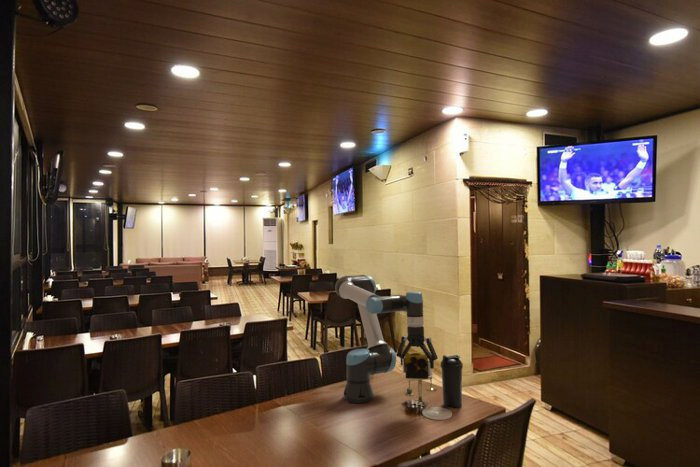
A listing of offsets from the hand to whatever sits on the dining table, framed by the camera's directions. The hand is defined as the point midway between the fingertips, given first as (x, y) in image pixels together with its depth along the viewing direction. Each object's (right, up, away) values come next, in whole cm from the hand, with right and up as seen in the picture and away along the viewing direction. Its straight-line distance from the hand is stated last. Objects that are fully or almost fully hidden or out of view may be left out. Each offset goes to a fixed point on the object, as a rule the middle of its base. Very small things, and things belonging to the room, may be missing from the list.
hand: (417, 374), depth 189 cm
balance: (+3, -18, +10) cm, 20 cm away
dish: (+8, -17, -3) cm, 19 cm away
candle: (0, -1, 0) cm, 1 cm away
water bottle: (+18, -18, +8) cm, 27 cm away
